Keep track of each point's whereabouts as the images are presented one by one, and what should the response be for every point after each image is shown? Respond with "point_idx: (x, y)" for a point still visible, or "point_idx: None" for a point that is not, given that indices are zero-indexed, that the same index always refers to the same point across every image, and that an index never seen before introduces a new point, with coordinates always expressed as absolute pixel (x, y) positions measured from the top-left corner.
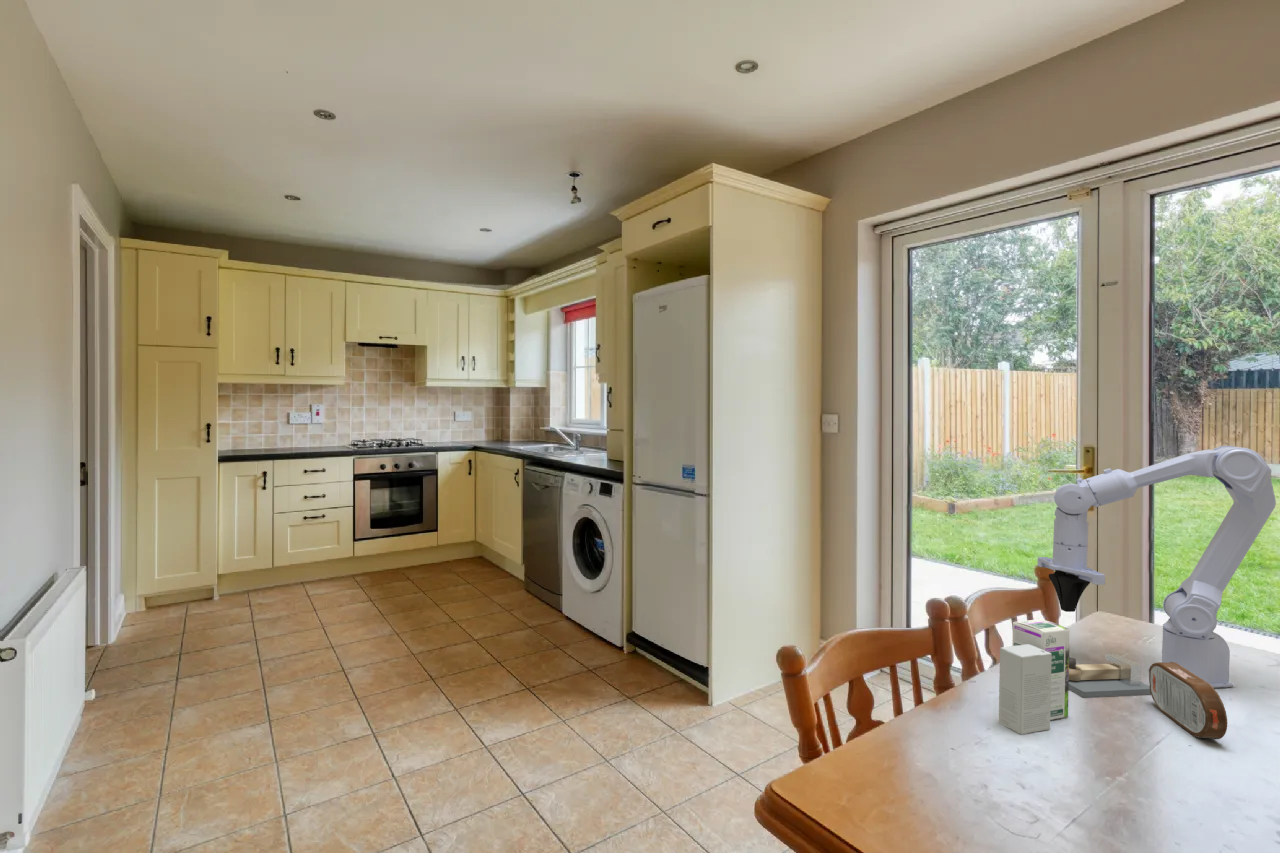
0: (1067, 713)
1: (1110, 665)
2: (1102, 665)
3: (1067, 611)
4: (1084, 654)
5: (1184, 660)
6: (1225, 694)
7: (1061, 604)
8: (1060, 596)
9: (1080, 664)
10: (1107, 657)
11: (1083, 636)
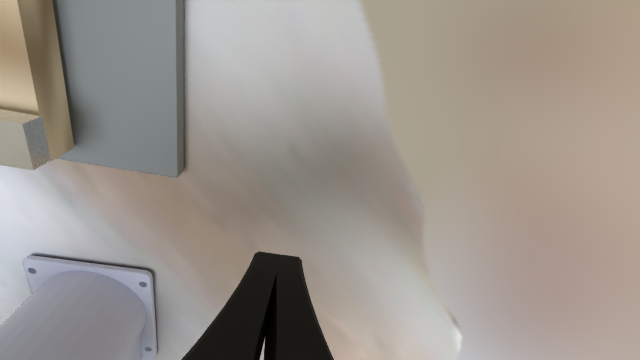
0: None
1: (17, 101)
2: (11, 63)
3: (253, 258)
4: (294, 228)
5: (6, 325)
6: (11, 299)
7: (283, 277)
8: (281, 326)
9: (173, 95)
10: (20, 118)
11: (396, 333)
